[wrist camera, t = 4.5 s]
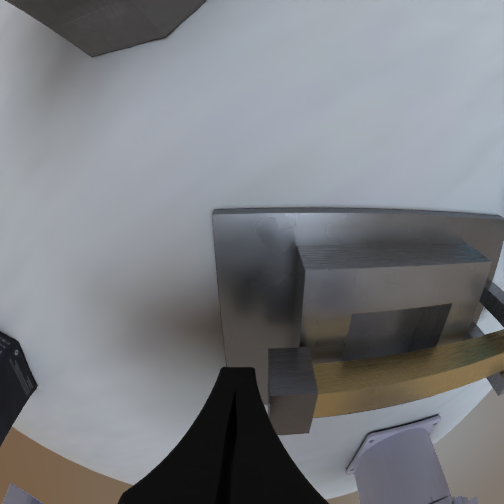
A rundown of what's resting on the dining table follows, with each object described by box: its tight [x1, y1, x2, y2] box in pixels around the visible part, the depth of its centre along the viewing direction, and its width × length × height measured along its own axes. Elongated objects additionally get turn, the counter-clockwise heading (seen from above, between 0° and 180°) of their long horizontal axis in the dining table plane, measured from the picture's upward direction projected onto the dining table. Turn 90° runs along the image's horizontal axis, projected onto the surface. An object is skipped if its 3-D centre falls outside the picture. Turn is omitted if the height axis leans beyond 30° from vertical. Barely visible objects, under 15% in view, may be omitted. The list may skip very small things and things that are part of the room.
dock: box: [212, 208, 504, 418], centre depth 11 cm, size 12×16×6 cm
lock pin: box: [267, 329, 504, 435], centre depth 10 cm, size 3×16×2 cm, turn 92°
